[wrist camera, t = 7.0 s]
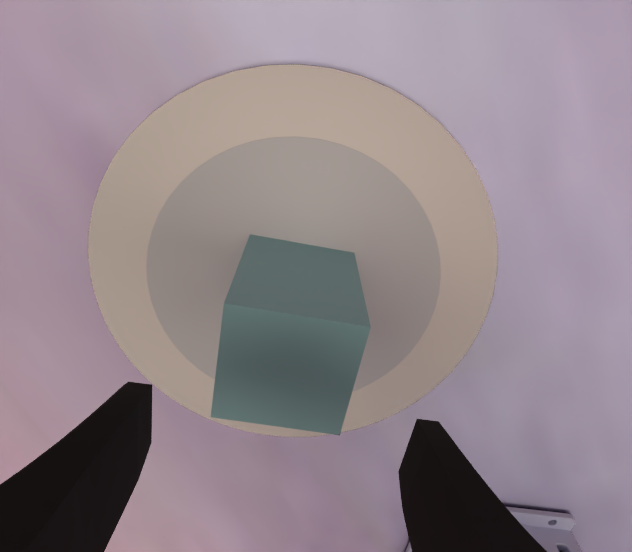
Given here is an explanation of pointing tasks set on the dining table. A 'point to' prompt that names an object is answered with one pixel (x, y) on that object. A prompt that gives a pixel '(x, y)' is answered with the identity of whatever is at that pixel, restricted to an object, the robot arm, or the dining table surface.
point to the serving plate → (293, 228)
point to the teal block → (290, 337)
